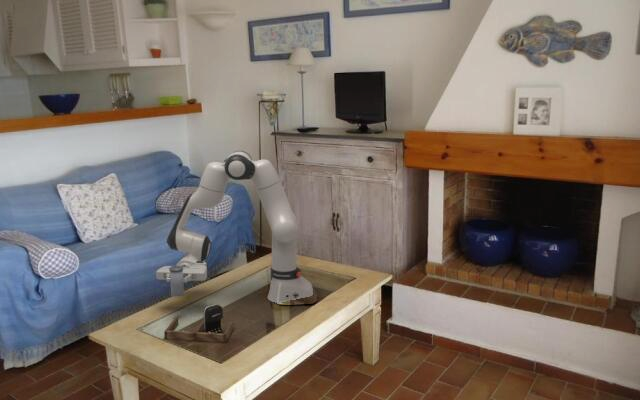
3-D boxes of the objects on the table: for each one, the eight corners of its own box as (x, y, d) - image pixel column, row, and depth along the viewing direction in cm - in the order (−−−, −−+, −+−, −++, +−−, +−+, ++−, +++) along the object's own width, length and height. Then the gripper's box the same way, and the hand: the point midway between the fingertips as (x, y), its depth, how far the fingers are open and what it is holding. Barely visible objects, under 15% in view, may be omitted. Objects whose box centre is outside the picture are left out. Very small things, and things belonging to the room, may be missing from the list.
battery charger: (208, 339, 202) (208, 310, 200) (203, 335, 205) (202, 307, 202) (224, 333, 207) (224, 305, 204) (218, 330, 209) (218, 302, 207)
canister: (186, 291, 220) (185, 265, 217) (182, 296, 214) (180, 270, 212) (173, 291, 220) (171, 265, 218) (168, 296, 215) (167, 270, 212)
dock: (233, 327, 212) (233, 319, 211) (225, 342, 199) (225, 334, 199) (175, 323, 213) (175, 315, 213) (164, 339, 201) (164, 330, 200)
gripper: (162, 261, 229) (150, 272, 215) (209, 262, 227) (200, 273, 214) (163, 275, 230) (150, 287, 216) (210, 276, 229) (201, 288, 215)
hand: (176, 280), depth 215 cm, fingers closed on canister, 5 cm apart
